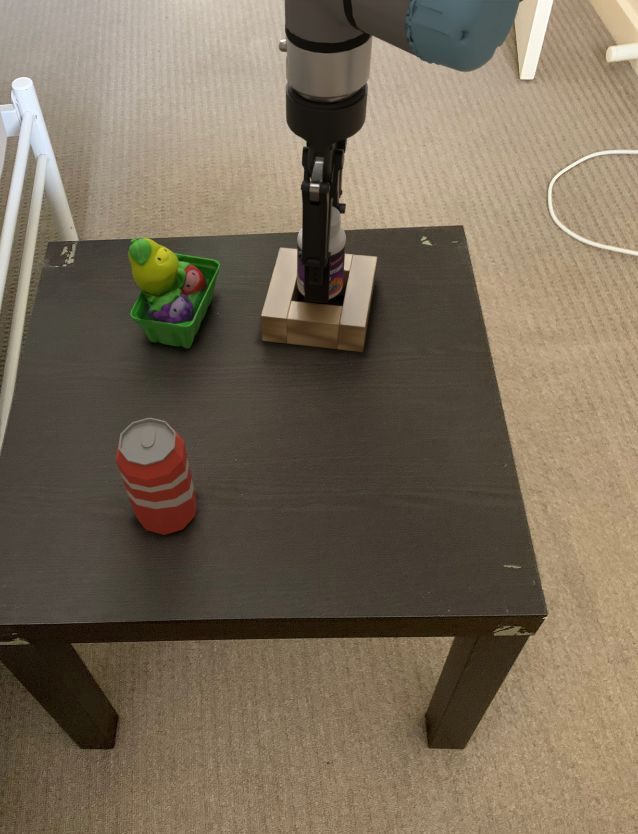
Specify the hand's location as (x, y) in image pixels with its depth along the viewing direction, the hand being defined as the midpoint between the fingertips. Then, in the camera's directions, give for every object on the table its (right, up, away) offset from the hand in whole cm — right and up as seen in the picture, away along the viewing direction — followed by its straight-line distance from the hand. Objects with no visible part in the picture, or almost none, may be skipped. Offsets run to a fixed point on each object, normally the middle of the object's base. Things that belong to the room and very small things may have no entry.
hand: (320, 281), depth 88 cm
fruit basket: (-17, -4, +4) cm, 18 cm away
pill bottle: (0, -1, +1) cm, 1 cm away
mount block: (0, -3, +4) cm, 5 cm away
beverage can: (-17, -27, -10) cm, 33 cm away
